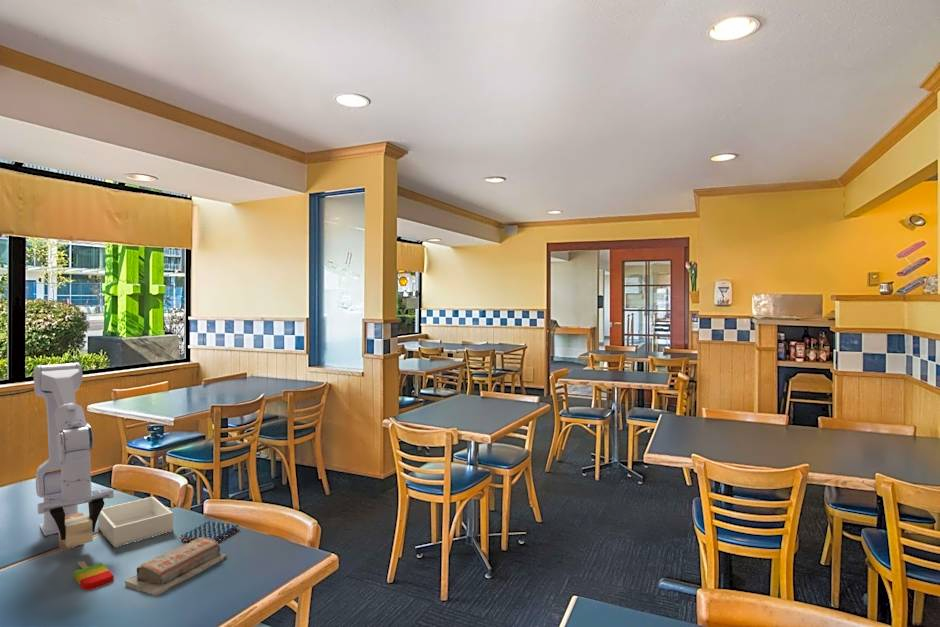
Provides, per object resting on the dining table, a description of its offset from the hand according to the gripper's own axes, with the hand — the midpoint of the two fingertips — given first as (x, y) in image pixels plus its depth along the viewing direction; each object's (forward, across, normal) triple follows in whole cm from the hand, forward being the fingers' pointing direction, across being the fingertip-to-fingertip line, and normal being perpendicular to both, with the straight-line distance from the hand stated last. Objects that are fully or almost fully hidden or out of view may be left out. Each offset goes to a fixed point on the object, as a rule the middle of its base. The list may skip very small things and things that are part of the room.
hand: (77, 534), depth 129 cm
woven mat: (+6, +26, -12) cm, 29 cm away
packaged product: (+5, +14, -26) cm, 30 cm away
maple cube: (+2, 0, 0) cm, 2 cm away
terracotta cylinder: (+5, 0, +8) cm, 9 cm away
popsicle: (+6, 0, -14) cm, 15 cm away
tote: (+5, +14, +6) cm, 16 cm away
